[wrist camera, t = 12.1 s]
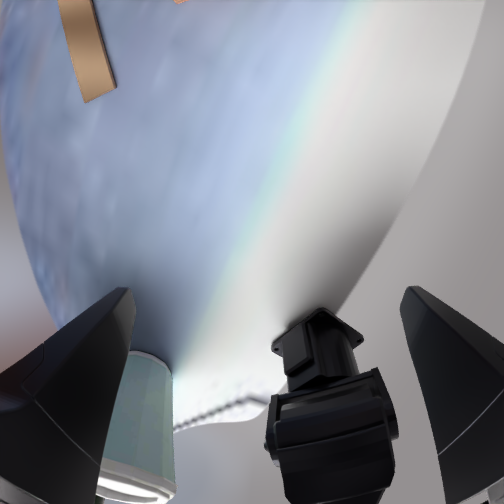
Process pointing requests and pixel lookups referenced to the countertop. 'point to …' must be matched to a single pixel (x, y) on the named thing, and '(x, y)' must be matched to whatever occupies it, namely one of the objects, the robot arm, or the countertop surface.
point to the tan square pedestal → (179, 1)
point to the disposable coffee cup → (140, 436)
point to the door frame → (86, 48)
